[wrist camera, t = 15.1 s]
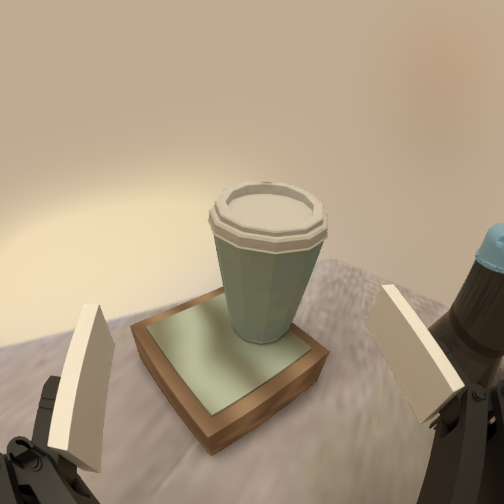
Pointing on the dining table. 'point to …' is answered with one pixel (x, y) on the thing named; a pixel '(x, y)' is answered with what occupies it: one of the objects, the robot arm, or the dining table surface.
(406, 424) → the dining table surface
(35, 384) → the dining table surface
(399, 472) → the dining table surface
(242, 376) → the walnut stand
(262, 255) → the disposable coffee cup
